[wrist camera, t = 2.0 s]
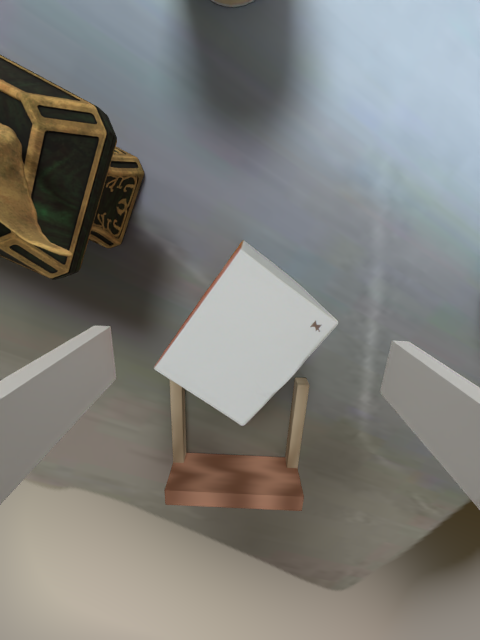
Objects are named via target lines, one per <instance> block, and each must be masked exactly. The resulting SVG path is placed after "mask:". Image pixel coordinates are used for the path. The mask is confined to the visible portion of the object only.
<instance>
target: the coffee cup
mask: <svg viewBox="0 0 480 640" xmlns="http://www.w3.org/2000/svg"><path fill="white" fill-rule="evenodd" d="M211 1H212V2H214V3H216V4H219V5H221V6H226V7H238V6H243V5H247V4H249V3H251V2H253V1H255V0H211Z"/></svg>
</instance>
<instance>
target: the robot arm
mask: <svg viewBox="0 0 480 640" xmlns="http://www.w3.org/2000/svg"><path fill="white" fill-rule="evenodd" d="M115 379H116V371H115V362H114V353H113V344H112V335H111V326H93V327H91V328H89V329H88V330H86V331H84V332H82V333H81V334H79V335H77V336H76V337H74V338H72V339H71V340H69V341H67V342H65V343H64V344H62V345H60V346H59V347H57V348H55V349H53V350H52V351H50V352H48V353H47V354H45V355H43V356H41V357H40V358H38V359H36V360H35V361H33V362H31V363H30V364H28V365H26V366H24V367H23V368H21V369H19V370H18V371H16V372H14V373H12V374H11V375H9V376H7V377H6V378H4V379H1V380H0V505H1V503H2V502H3V501H4V500H5V499H6V498H7V497H8V496H9V495H10V493H11V492H12V491H13V490H14V489H15V488H16V487H17V486H18V485H19V484H20V483H21V482H22V481H23V479H24V478H25V477H26V476H27V475H28V474H29V473H30V472H31V471H32V470H33V469H34V468H35V466H36V465H37V464H38V463H39V462H40V461H41V460H42V459H43V458H44V457H45V456H46V454H47V453H48V452H49V451H50V450H51V449H52V448H53V447H54V446H55V445H56V444H57V442H58V441H59V440H60V439H61V438H62V437H63V436H64V435H65V434H66V433H67V432H68V430H69V429H70V428H71V427H72V426H73V425H74V424H75V423H76V422H77V421H78V420H79V419H80V417H81V416H82V415H83V414H84V413H85V412H86V411H87V410H88V409H89V408H90V407H91V405H92V404H93V403H94V402H95V401H96V400H97V399H98V398H99V397H100V396H101V395H102V393H103V392H104V391H105V390H106V389H107V388H108V387H109V386H110V385H111V384H112V383H113V382H114V380H115ZM380 393H381V394H382V395H383V397H384V398H385V399H386V400H387V401H388V403H389V404H390V405H391V406H392V407H393V408H394V410H395V411H396V412H397V413H398V414H399V415H400V417H401V418H402V419H403V420H404V421H405V423H406V424H407V425H408V426H409V427H410V428H411V430H412V431H413V432H414V433H415V434H416V435H417V437H418V438H419V439H420V440H421V441H422V443H423V444H424V445H425V446H426V447H427V448H428V450H429V451H430V452H431V453H432V454H433V455H434V457H435V458H436V459H437V460H438V461H439V463H440V464H441V465H442V466H443V467H444V468H445V470H446V471H447V472H448V473H449V474H450V475H451V477H452V478H453V479H454V480H455V481H456V483H457V484H458V485H459V486H460V487H461V488H462V490H463V491H464V492H465V493H466V494H467V495H468V497H469V498H470V499H471V500H472V501H473V503H474V504H475V505H476V506H477V507H478V508H479V510H480V388H479V387H478V386H476V385H475V384H473V383H472V382H470V381H469V380H467V379H465V378H464V377H462V376H461V375H459V374H458V373H456V372H455V371H453V370H452V369H450V368H449V367H447V366H446V365H444V364H442V363H441V362H439V361H438V360H436V359H435V358H433V357H432V356H430V355H429V354H427V353H426V352H424V351H423V350H421V349H419V348H418V347H416V346H415V345H413V344H412V343H410V342H408V341H392V343H391V348H390V352H389V356H388V360H387V365H386V369H385V373H384V377H383V381H382V386H381V390H380Z"/></svg>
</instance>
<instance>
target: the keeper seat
mask: <svg viewBox="0 0 480 640" xmlns="http://www.w3.org/2000/svg"><path fill="white" fill-rule="evenodd" d="M308 391H309V384H308V381H307V379H306V378H297V377H295V381H294V390H293V398H292V406H291V414H290V422H289V430H288V438H287V446H286V454H285V457H266V456H245V455H223V454H202V453H186V416H185V389H184V388H183V387H181V386H180V385H178V384H176V383H175V382H173V381H172V380H170V397H171V420H172V443H173V465H172V468H171V472H170V475H169V478H168V481H167V484H166V488H165V504H166V505H186V506H207V507H229V508H250V509H271V510H293V511H302V505H303V499H304V495H303V491H302V486H301V482H300V478H299V473H298V469H297V467H298V460H299V454H300V447H301V440H302V433H303V426H304V419H305V412H306V405H307V398H308Z"/></svg>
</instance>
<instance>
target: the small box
mask: <svg viewBox="0 0 480 640" xmlns="http://www.w3.org/2000/svg"><path fill="white" fill-rule="evenodd" d="M337 324H338V321H337V320H336V319H335V318H334V317H333V316H332V315H331V314H330V313H329V312H328V311H327V310H326V309H325V308H323V307H322V306H321V305H320V304H319V303H318V302H317V301H316V300H315V299H314V298H313V297H312V296H311V295H310V294H309V293H308V292H307V291H306V290H305V289H304V288H303V287H302V286H301V285H299V284H298V283H297V282H296V281H295V280H294V279H292V278H291V277H290V276H289V275H287V274H286V273H285V272H284V271H282V270H281V269H280V268H279V267H277V266H276V265H275V264H274V263H272V262H271V261H270V260H268V259H267V258H266V257H265V256H263V255H262V254H261V253H260V252H258V251H257V250H256V249H254V248H253V247H252V246H251V245H249V244H248V243H247V242H245V241H244V240H243V241H242V242H241V243H240V245H239V246H238V248H237V249H236V251H235V252H234V253H233V255H232V256H231V258H230V259H229V260H228V262H227V263H226V265H225V266H224V267H223V269H222V270H221V272H220V273H219V274H218V276H217V277H216V279H215V280H214V281H213V283H212V284H211V286H210V287H209V288H208V290H207V291H206V292H205V294H204V295H203V297H202V298H201V299H200V301H199V302H198V304H197V305H196V307H195V308H194V310H193V311H192V312H191V314H190V315H189V317H188V318H187V320H186V321H185V322H184V324H183V325H182V327H181V328H180V330H179V331H178V333H177V334H176V336H175V337H174V339H173V340H172V341H171V343H170V344H169V346H168V347H167V348H166V350H165V351H164V353H163V354H162V356H161V357H160V359H159V360H158V362H157V363H156V364H155V366H154V369H155V370H156V371H157V372H159V373H161V374H162V375H164V376H165V377H167V378H168V379H170V380H172V381H173V382H175V383H176V384H178V385H180V386H181V387H183V388H184V389H186V390H187V391H189V392H191V393H192V394H194V395H195V396H197V397H198V398H200V399H202V400H203V401H205V402H206V403H208V404H209V405H211V406H212V407H214V408H215V409H217V410H218V411H220V412H221V413H223V414H224V415H226V416H227V417H229V418H230V419H232V420H233V421H235V422H236V423H238V424H239V425H241V426H243V425H245V424H247V422H248V421H249V420H250V419H251V418H252V417H253V416H254V415H255V414H256V413H257V412H258V411H259V410H260V409H261V408H262V407H263V406H264V405H265V404H266V403H267V401H268V400H269V399H270V398H271V397H272V396H273V395H274V394H275V393H276V392H277V391H278V390H279V389H280V388H281V387H282V386H283V385H284V384H285V383H287V382H288V380H289V379H290V378H291V377H292V376H293V375H294V374H295V373H296V371H297V370H298V369H299V368H300V367H301V366H302V364H303V363H304V362H305V360H306V359H307V358H308V357H309V356H310V355H311V354H312V352H313V351H314V350H315V349H316V348H317V347H318V346H319V345H320V344H321V342H322V341H323V340H324V339H325V338H326V337H327V336H328V335H329V334H330V332H331V331H332V330H333V329H334V328H335V327H336V326H337Z"/></svg>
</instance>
